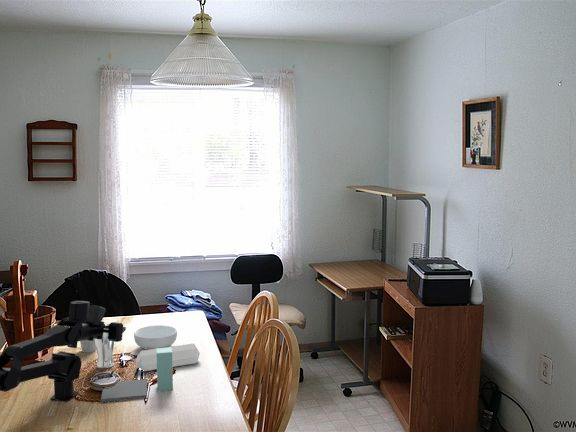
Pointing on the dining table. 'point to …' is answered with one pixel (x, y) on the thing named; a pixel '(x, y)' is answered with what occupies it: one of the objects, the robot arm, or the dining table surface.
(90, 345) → the house plant
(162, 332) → the cereal bowl
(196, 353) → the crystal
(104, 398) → the rubber mat
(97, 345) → the beer glass
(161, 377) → the teal block
